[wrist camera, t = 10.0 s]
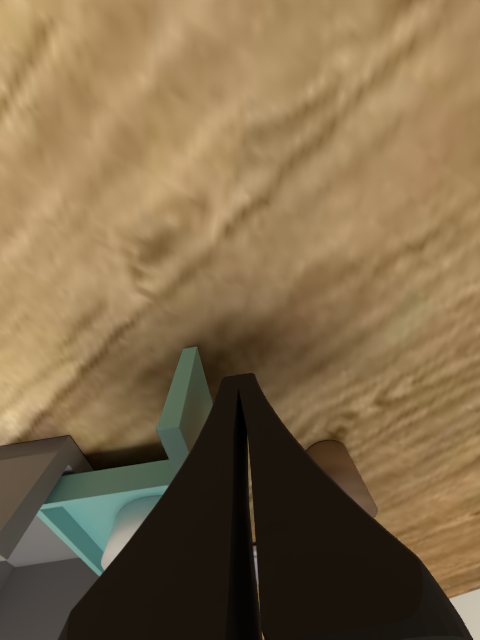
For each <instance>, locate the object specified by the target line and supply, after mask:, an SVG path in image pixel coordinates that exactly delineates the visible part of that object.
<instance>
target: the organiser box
mask: <svg viewBox="0 0 480 640" xmlns="http://www.w3.org/2000/svg"><path fill="white" fill-rule="evenodd" d="M92 471H94V469H93V468H92V467H91V465H90V464H89V462H88V461H87V459H86V458H85V457H84V455H83V454H82V452H81V451H80V450H79V448H78V447H77V445H76V444H75V442H74V441H73V440H72V438H71V437H70V435H69V436H63V437H57V438H50V439H44V440H38V441H31V442H25V443H19V444H12V445H6V446H0V640H58V638H59V635H60V633H61V631H62V629H63V627H64V625H65V623H66V621H67V618H68V616H69V614H70V611H71V610H72V609H73V608H74V606H75V605H76V604H77V603H78V602H79V600H80V599H81V598H82V597H83V596H84V594H85V593H86V592H87V591H88V590H89V588H90V587H91V586H92V585H93V584H94V582H95V581H96V580H97V579H98V578H99V576H98V575H97V574H96V573H95V572H94V571H93V570H92V569H91V568H90V567H89V566H88V565H87V564H86V563H85V562H84V561H83V560H82V559H81V558H80V557H79V556H78V555H77V554H76V553H75V552H74V551H73V550H72V549H71V548H70V547H69V546H68V545H67V544H66V543H64V542H63V541H62V540H61V539H60V538H59V537H58V536H57V535H56V534H55V533H54V532H53V531H52V530H51V529H50V528H49V527H48V526H47V525H46V524H45V523H44V522H43V521H42V520H41V519H40V518H39V517H38V516H37V515H36V514H37V513H38V511H39V510H40V508H41V507H42V505H43V504H44V502H45V500H46V499H47V497H48V496H49V494H50V493H51V491H52V489H53V488H54V486H55V485H56V483H57V482H58V480H59V478H60V477H61V476H66V475H73V474H79V473H85V472H92Z"/></svg>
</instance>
